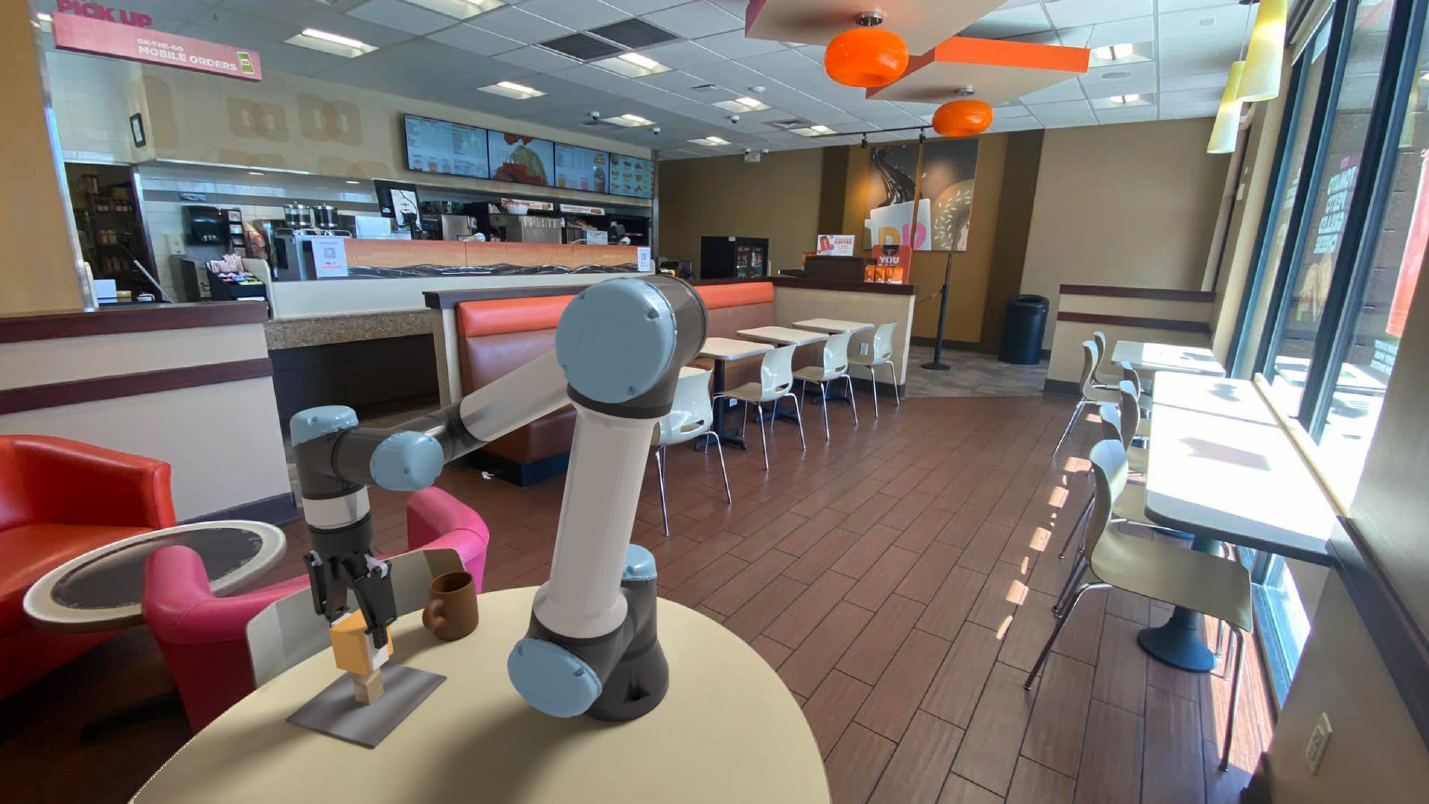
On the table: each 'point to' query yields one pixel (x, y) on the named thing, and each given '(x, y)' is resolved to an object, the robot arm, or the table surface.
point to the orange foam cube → (353, 644)
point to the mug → (452, 605)
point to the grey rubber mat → (367, 703)
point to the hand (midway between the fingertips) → (363, 659)
